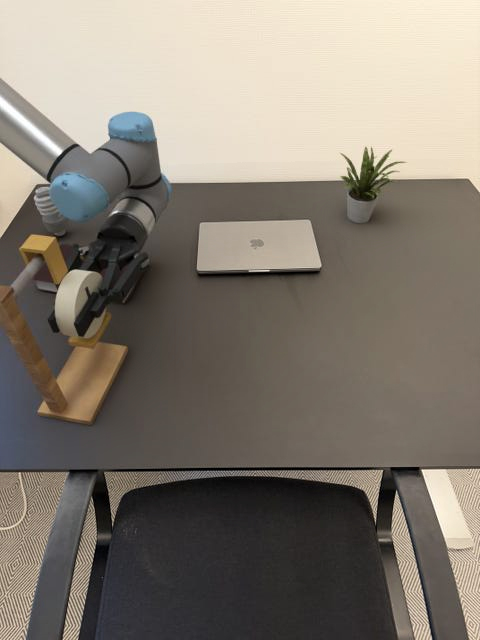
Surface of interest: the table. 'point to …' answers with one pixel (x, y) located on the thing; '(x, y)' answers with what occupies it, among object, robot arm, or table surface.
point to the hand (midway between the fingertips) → (65, 328)
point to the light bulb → (50, 213)
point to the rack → (77, 374)
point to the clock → (68, 290)
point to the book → (44, 275)
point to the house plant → (365, 186)
